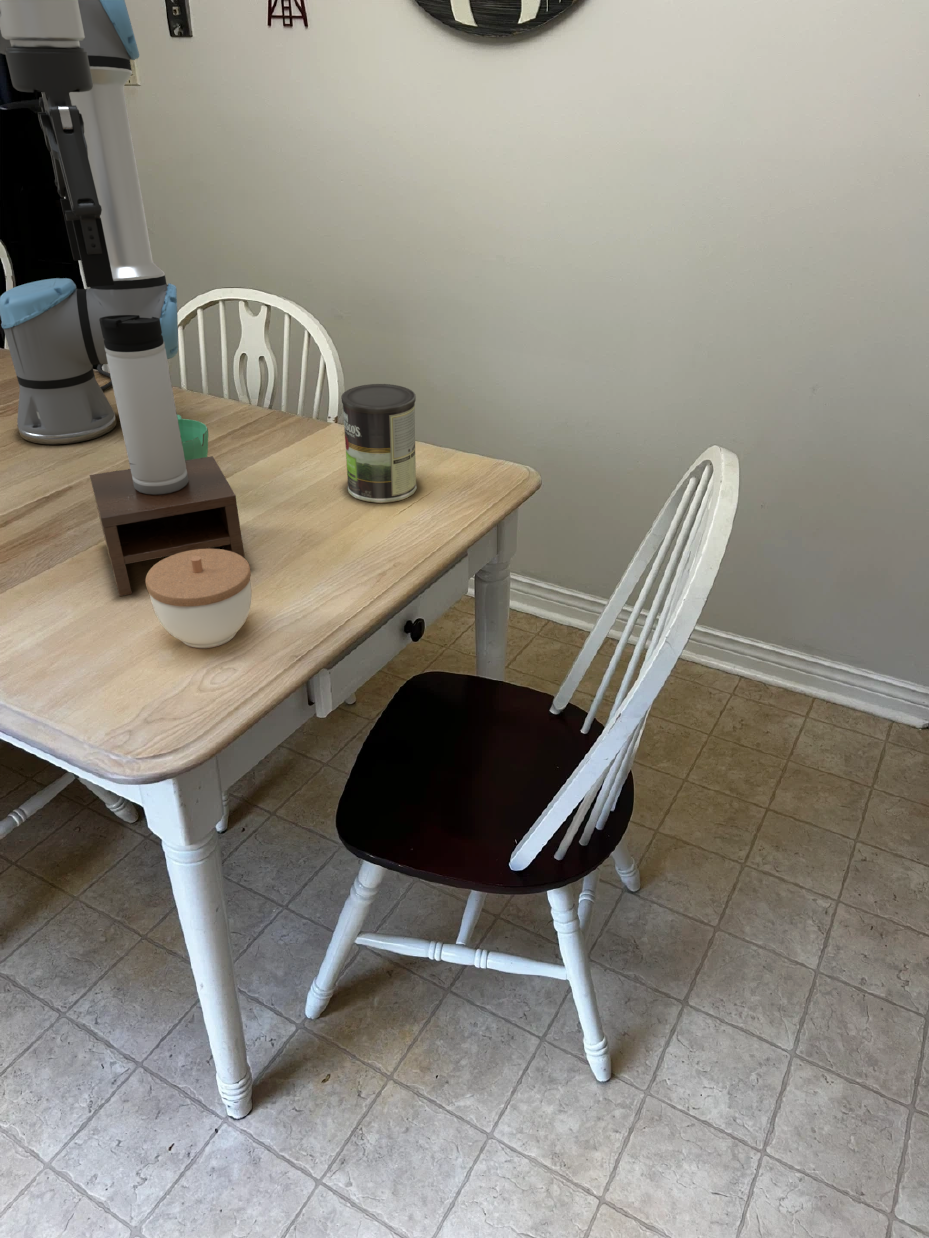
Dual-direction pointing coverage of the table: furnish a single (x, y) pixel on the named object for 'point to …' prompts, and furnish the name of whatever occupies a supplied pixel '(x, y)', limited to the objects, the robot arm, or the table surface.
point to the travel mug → (145, 402)
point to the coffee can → (380, 442)
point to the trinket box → (201, 595)
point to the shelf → (166, 517)
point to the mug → (193, 438)
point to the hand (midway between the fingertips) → (93, 272)
